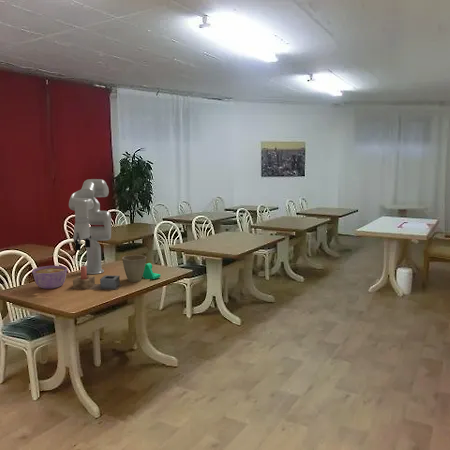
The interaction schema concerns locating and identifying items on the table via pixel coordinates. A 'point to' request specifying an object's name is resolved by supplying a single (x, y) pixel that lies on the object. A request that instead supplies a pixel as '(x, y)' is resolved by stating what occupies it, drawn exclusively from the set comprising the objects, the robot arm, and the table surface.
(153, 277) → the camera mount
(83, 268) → the pin
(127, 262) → the plant pot
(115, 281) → the socket
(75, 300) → the table surface
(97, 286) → the board
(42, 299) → the table surface
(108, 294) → the table surface
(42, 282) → the bowl of food
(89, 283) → the mount
